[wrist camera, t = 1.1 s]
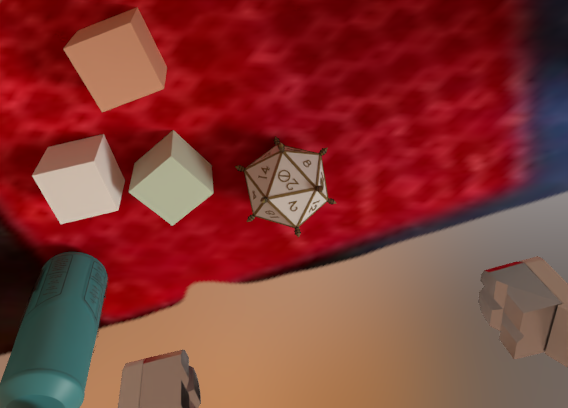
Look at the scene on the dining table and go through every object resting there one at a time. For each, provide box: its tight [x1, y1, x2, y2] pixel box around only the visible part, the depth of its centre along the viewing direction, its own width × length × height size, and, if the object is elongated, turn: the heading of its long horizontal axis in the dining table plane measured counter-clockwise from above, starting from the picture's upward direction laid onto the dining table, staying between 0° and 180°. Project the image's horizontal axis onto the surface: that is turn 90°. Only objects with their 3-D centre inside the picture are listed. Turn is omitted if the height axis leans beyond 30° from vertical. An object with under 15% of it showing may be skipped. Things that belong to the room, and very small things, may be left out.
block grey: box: [32, 134, 125, 224], centre depth 40 cm, size 5×5×5 cm
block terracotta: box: [63, 7, 167, 112], centre depth 35 cm, size 5×5×5 cm
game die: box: [235, 136, 336, 237], centre depth 42 cm, size 9×8×10 cm
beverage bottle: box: [0, 252, 109, 408], centre depth 40 cm, size 6×7×20 cm
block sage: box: [129, 130, 214, 226], centre depth 41 cm, size 5×5×5 cm
